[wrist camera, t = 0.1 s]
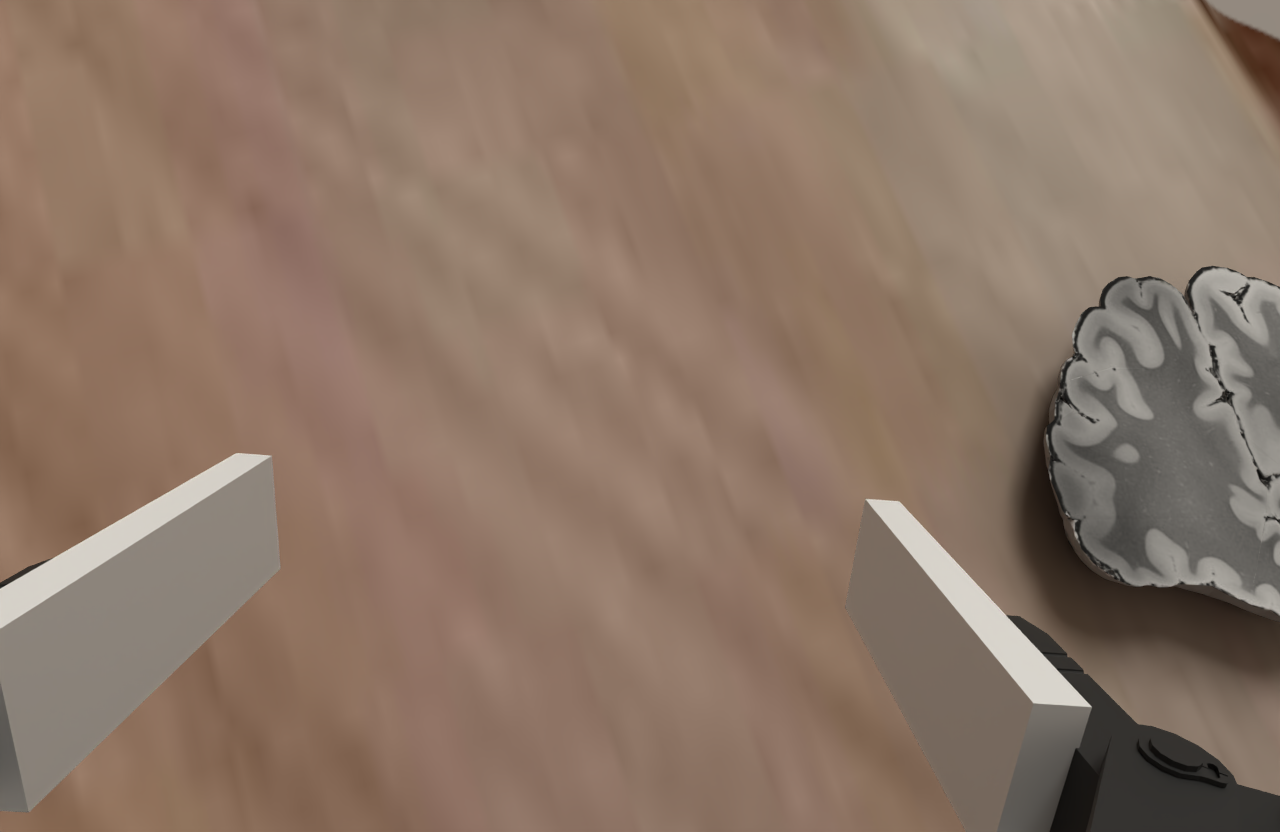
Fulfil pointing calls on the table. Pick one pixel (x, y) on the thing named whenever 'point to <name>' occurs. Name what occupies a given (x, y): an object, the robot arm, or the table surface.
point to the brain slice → (1174, 437)
